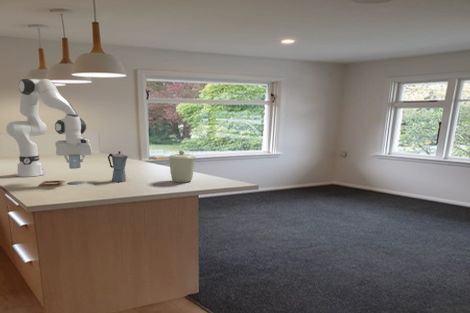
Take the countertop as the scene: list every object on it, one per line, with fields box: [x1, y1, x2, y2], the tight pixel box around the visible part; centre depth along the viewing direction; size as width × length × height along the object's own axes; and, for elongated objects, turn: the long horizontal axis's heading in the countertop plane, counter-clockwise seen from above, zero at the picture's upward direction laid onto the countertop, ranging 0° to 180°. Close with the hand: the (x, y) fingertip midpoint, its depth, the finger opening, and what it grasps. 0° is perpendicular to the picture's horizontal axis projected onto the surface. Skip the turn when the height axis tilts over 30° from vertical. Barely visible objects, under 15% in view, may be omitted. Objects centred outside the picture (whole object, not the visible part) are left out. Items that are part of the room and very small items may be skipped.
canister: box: [167, 149, 196, 183], centre depth 218 cm, size 18×18×21 cm
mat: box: [66, 180, 85, 186], centre depth 206 cm, size 10×10×1 cm
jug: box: [68, 155, 82, 170], centre depth 200 cm, size 13×6×8 cm, turn 24°
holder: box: [36, 179, 66, 188], centre depth 203 cm, size 17×13×2 cm
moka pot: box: [107, 151, 129, 183], centre depth 217 cm, size 10×15×20 cm, turn 78°
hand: (75, 162), depth 205 cm, fingers closed on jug, 6 cm apart
